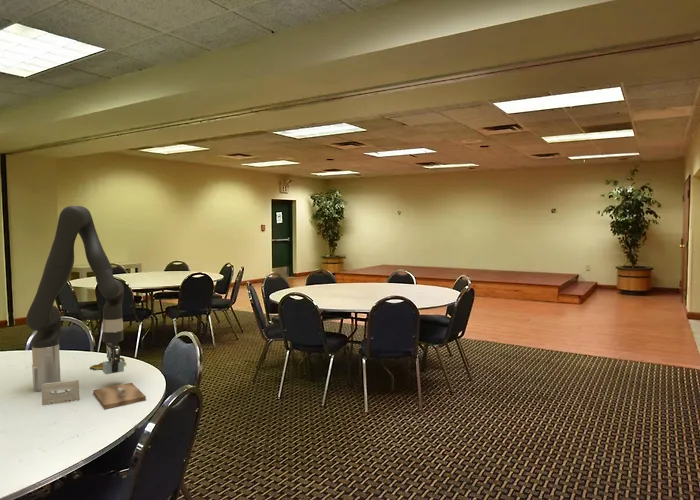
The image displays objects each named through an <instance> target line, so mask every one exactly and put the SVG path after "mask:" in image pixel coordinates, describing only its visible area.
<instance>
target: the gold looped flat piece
mask: <svg viewBox="0 0 700 500" xmlns="http://www.w3.org/2000/svg"><path fill="white" fill-rule="evenodd" d="M120 359H121V360H122V361H123V362H124V367H127V362H126V361H125V358H124V357H121V356H120ZM115 360H117V358H115ZM89 369H90V370H92V369H93V370H92V371H96V370H102V371H103V362H100V363H98V364H93V365H91V366H90V367H89Z"/></svg>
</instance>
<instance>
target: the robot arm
mask: <svg viewBox="0 0 700 500" xmlns="http://www.w3.org/2000/svg"><path fill="white" fill-rule="evenodd" d="M78 235H79V236H80V238H81V241H82V243H83V248H84V252H85V258H86V261H87V263H88V265H89V267H90V269H91V271H92V273H93V274H94V277H95V281H96V284H97V288H98V289H99V292H100V294H101V295H102V296H103V298H105V304H104V305H103V307H102V342H103V343H105V346H106V358H107V361H112V362H111V363H112V374H115V373H116V372H118V363H119V362H120V358H121V351H122V350H121V348H120V345H119V342H122V341H123V340H124V321H123V303H124V296H125V288H124V284H123V282H121V281H120V280H118V279H115V277H114V275H113V272H114V270H113V266H112V265H111V262H110V259H109V258H108V256H107V254H106V252H105V250H104V248H103V246H102V244H101V241H100V238H99V235H98V232H97V229H96V227H95V223H94V219H93V216H92V214H91V212H90V210H89V209H88V208H87V207H85V206H82V205H69V206H66V207H64V208H63V209H62V210H61V212H60V213H59V216H58V219H57V226H56V231H55V235H54V239H53V242H52V245H51V248H50V251H49V254H48V257H47V259H46V262H45V265H44V268H43V273H42V276H41V279H40V281H39V284H38V288H37V291H36V294H35V296H34V298H33V301H32V302H31V303H30V307H29V309H28V312H27V314H26V319H25V323H26V324H27V326H28V328H29V329H30V330H32V331H35V332H36V334H35V335H34V337H33V338H32V340H31V354H32V358H31V359H32V364H31V370H32V388H33V392H42V390H41V385H42V384H46V383H54V382H62V380H61V362H60V360H61V359H60V338H61V334H62V314H61V311H60V310H59V308H58V307H57V306H56V305H54V303H55V301H56V299H57V297H58V295H59V293H61V291H62V290H63V289H64V287H65V286H66V284H67V283H68V281H69V278H70V276H71V275H72V270H73V268H74V264H75V242H76V240H77V236H78ZM116 358H117V360H115V359H116ZM118 373H119V372H118ZM116 374H117V373H116Z"/></svg>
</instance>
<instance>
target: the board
mask: <svg viewBox="0 0 700 500" xmlns="http://www.w3.org/2000/svg"><path fill="white" fill-rule="evenodd" d="M92 394H93V396H94V395H95V396H94V397H95V398H96V400H97V401H98V402H100V403H99V404H100V406H101V407H102V408H103V409H104V410H107V409H113V408H117V407H122V406H126V405H131V404H135V403H140V402H145V401H147V398H146V397H147V396H146V395H145V394H144V393H143V392H142V391H141V390H140V389H139V388H138V387H137V386H136V385H135V384H134V383H133V382H128V383H122V384H118V385H113V386H108V387H102V388H97V389H93V390H92Z"/></svg>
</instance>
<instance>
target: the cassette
mask: <svg viewBox="0 0 700 500" xmlns="http://www.w3.org/2000/svg"><path fill="white" fill-rule="evenodd" d="M41 390H42V391H41V405H42V406H45V405H55V404H56V405H57V404H63V403H64V402H65V403H71V401H72V402H76V401H75V400H77V401H80V399H81V398H80V396H81V395H80V380H79V379H71V380H65V381H61V382H54V383H46V384H42V385H41ZM62 390H63V392H57V391H62Z"/></svg>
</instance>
